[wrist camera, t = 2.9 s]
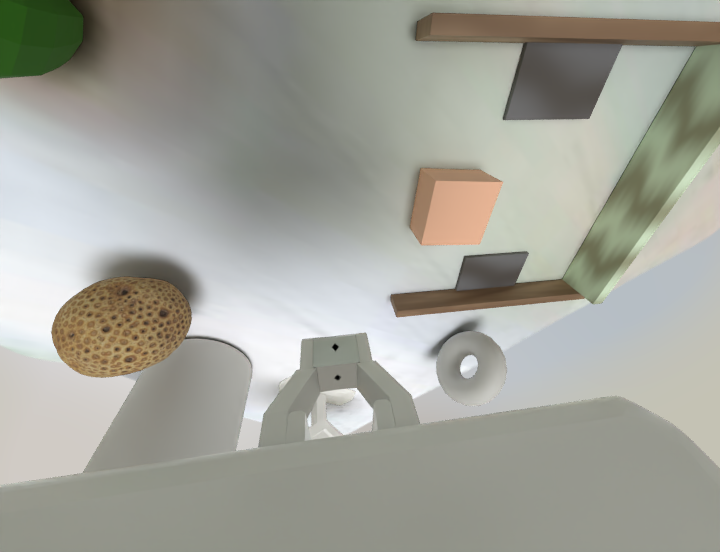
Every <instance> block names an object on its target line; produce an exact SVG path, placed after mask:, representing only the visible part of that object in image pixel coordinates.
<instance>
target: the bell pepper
mask: <svg viewBox="0 0 720 552" xmlns="http://www.w3.org/2000/svg"><path fill="white" fill-rule="evenodd" d="M82 41H83V16H82V14H81V13H80V12H79V11H78V10H77V9H76V8H75V7H74V5H73V4H72V3H71V2H70V1H69V0H0V78H10V77H24V76H38V75H43V74H45V73H47V72H50V71H52V70H54V69H56V68H58V67H60V66H62V65H63V64H64V63H66V62H67V61H69V60H70V59H71V57H72V56H73V54H74V53H75V51H76V50H77V48H78V47H79V45H80V44H81V43H82Z"/></svg>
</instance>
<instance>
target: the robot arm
mask: <svg viewBox="0 0 720 552" xmlns="http://www.w3.org/2000/svg"><path fill="white" fill-rule="evenodd" d="M348 388H357V389H358V390H359V392H360V393H361V394H362V395H363V397H364V398H365V399H366V401H367V402H368V403H369V405H370V406H371V407H372V408H373V424H372V431H369V432H362V433H356V434H348V435H342V436H335V437H328V438H321V439H314V440H311V436H310V431H309V427H308V423H307V418H308V416H309V414H310V412H311V410H312V408H313V406H314V404H315V403H316V401H317V399H318V397H319V395H320V392H325V391H332V390H338V389H348ZM0 552H720V468H719V467H718V466H717V465H716V464H715V463H714V462H713V461H712V460H711V459H710V458H709V457H708V456H707V455H706V454H705V453H704V452H703V451H702V450H701V449H700V448H699V447H698V446H697V445H696V444H695V443H694V442H693V441H692V440H691V439H690V438H689V437H688V436H687V435H685V434H684V433H683V432H682V431H681V430H680V429H678V428H677V427H676V426H675V425H673V424H672V423H670V422H669V421H667V420H665V419H663V418H662V417H660V416H658V415H656V414H654V413H652V412H651V411H649V410H647V409H645V408H643V407H641V406H639V405H637V404H635V403H633V402H631V401H629V400H627V399H625V398H622V397H617V396H610V397H602V398H596V399H589V400H582V401H575V402H568V403H561V404H555V405H547V406H540V407H534V408H527V409H520V410H513V411H506V412H499V413H493V414H486V415H479V416H472V417H465V418H459V419H452V420H445V421H438V422H431V423H424V424H420V422H419V418H418V415H417V412H416V409H415V406H414V403H413V399H412V396H411V394H410V393H409V392H408V391H407V390H406V389H404V388H403V387H402V386H401V385H400V384H399V383H398V382H397V381H396V380H395V379H394V378H393V377H392V376H391V375H390V374H389V373H388V372H387V371H386V370H385V369H384V368H382V367H381V366H380V365H379V364H378V363H377V362H376V361H372V357H371V352H370V347H369V342H368V338H367V334H366V333H358V334H348V335H339V336H333V337H320V338H309V339H302V342H301V358H300V370H296V371H295V373H294V374H293V375H292V377H291V378H290V380H289V381H288V382H287V384H286V385H285V386H284V388H283V389H282V390H281V392H280V393H279V394H278V396H277V397H276V398H275V400H274V401H273V402H272V404H271V405H270V406H269V408H268V409H267V410H266V412H265V413H264V415H263V421H262V428H261V434H260V440H259V446H258V448H253V449H246V450H239V451H232V452H225V453H218V454H212V455H205V456H198V457H191V458H184V459H177V460H170V461H163V462H157V463H150V464H143V465H136V466H129V467H122V468H115V469H108V470H101V471H95V472H88V473H81V474H74V475H67V476H61V477H53V478H46V479H39V480H32V481H26V482H18V483H11V484H4V485H0Z"/></svg>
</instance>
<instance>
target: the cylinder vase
mask: <svg viewBox="0 0 720 552" xmlns="http://www.w3.org/2000/svg"><path fill="white" fill-rule="evenodd" d="M251 377H252V367H251V364H250V362H249V360H248V359H247V357H246V356H245V355H244V354H243V353H241V352H240V351H239V350H237V349H236V348H234V347H232V346H230V345H228V344H225V343H222V342H219V341H214V340H209V339H184V340H183V342H182V343H181V345H180V346H179V347H178V348H177V349H176V350H175V351H173V352H172V354H171V355H170V356H169V357H168V358H166V359H165V360H163V361H161V362H159V363H157V364H155V365H153V366H150V367H148V368H145V369H144V370H143V371H142V373H141V375H140V376H139V378H138V380H137V381H136V383H135V385H134V387H133V388H132V390H131V392H130V394H129V395H128V397H127V399H126V400H125V402H124V403H123V405H122V407H121V409H120V411H119V412H118V414H117V415H116V417H115V419H114V420H113V422H112V424H111V426H110V427H109V429H108V431H107V432H106V434H105V436H104V437H103V439H102V441H101V442H100V444H99V446H98V447H97V449H96V451H95V453H94V454H93V456H92V458H91V459H90V461H89V463H88V465H87V466H86V468H85V469H84V471H83V473H88V472H95V471H101V470H108V469H115V468H122V467H129V466H136V465H143V464H150V463H157V462H163V461H170V460H177V459H184V458H191V457H198V456H205V455H212V454H218V453H225V452H232V451H236V447H237V443H238V438H239V433H240V428H241V424H242V419H243V414H244V410H245V405H246V400H247V396H248V391H249V386H250V382H251Z"/></svg>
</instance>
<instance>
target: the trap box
mask: <svg viewBox="0 0 720 552" xmlns="http://www.w3.org/2000/svg"><path fill="white" fill-rule="evenodd" d="M416 41H458V42H506V43H524V46H523V50H522V53H521V57H520V61H519V64H518V68H517V71H516V75H515V78H514V82H513V85H512V89H511V93H510V96H509V100H508V103H507V107H506V110H505V114H504V117H503V120H541V119H589V118H590V116H591V114H592V111H593V109H594V107H595V105H596V102H597V100H598V98H599V96H600V94H601V91H602V89H603V87H604V85H605V82H606V80H607V78H608V76H609V73H610V71H611V69H612V67H613V65H614V62H615V60H616V58H617V56H618V53H619V51H620V49H621V47H622V45H652V46H696V48H695V50H694V51H693V53H692V55H691V57H690V58H689V60H688V62H687V64H686V65H685V67H684V69H683V71H682V72H681V74H680V76H679V78H678V79H677V81H676V83H675V84H674V86H673V88H672V90H671V91H670V93H669V95H668V97H667V98H666V100H665V102H664V104H663V105H662V107H661V109H660V110H659V112H658V114H657V116H656V117H655V119H654V121H653V123H652V124H651V126H650V128H649V130H648V131H647V133H646V135H645V137H644V138H643V140H642V142H641V143H640V145H639V147H638V149H637V150H636V152H635V154H634V156H633V157H632V159H631V161H630V163H629V164H628V166H627V168H626V169H625V171H624V173H623V175H622V176H621V178H620V180H619V182H618V183H617V185H616V187H615V189H614V190H613V192H612V194H611V196H610V197H609V199H608V201H607V202H606V204H605V206H604V208H603V209H602V211H601V213H600V215H599V216H598V218H597V220H596V222H595V223H594V225H593V227H592V228H591V230H590V232H589V234H588V235H587V237H586V239H585V241H584V242H583V244H582V246H581V248H580V249H579V251H578V253H577V255H576V256H575V258H574V260H573V261H572V263H571V265H570V267H569V268H568V270H567V272H566V274H565V275H564V277H563V279H561V280H550V281H539V282H528V283H517V284H515V283H516V281H517V279H518V276H519V274H520V272H521V270H522V267H523V265H524V263H525V261H526V258H527V256H528V254H529V253H528V252H515V253H501V254H488V255H475V256H464V260H463V263H462V267H461V270H460V274H459V278H458V281H457V285H456V288H455V289H449V290H438V291H427V292H416V293H405V294H394V295H391V303H392V306H393V309H394V312H395V315H396V317H405V316H415V315H425V314H435V313H445V312H455V311H465V310H475V309H485V308H496V307H506V306H516V305H526V304H536V303H546V302H556V301H566V300H576V299H584V298H586V299H587V300H588V301H590V302H591V303H592V304H600V303H602V302H603V301H604V299H605V298H606V297H607V296H608V294H609V293H610V292H611V290H612V289H613V287H614V286H615V285H616V283H617V282H618V281H619V279H620V278H621V277H622V275H623V274H624V273H625V271H626V270H627V269H628V267H629V266H630V264H631V263H632V262H633V260H634V259H635V258H636V256H637V255H638V254H639V252H640V251H641V250H642V248H643V247H644V245H645V244H646V243H647V241H648V240H649V239H650V237H651V236H652V235H653V233H654V232H655V231H656V229H657V228H658V227H659V225H660V224H661V222H662V221H663V220H664V218H665V217H666V216H667V214H668V213H669V212H670V210H671V209H672V208H673V206H674V205H675V204H676V202H677V201H678V199H679V198H680V197H681V195H682V194H683V193H684V191H685V190H686V189H687V187H688V186H689V185H690V183H691V182H692V181H693V179H694V178H695V176H696V175H697V174H698V172H699V171H700V170H701V168H702V167H703V166H704V164H705V163H706V162H707V160H708V159H709V158H710V156H711V155H712V153H713V152H714V151H715V149H716V148H717V147H718V145H719V144H720V22H698V21H668V20H638V19H607V18H577V17H547V16H517V15H486V14H456V13H431V14H430V15H428V16H426V17H424V18H423V19H421V20H419V21H417V31H416Z"/></svg>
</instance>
